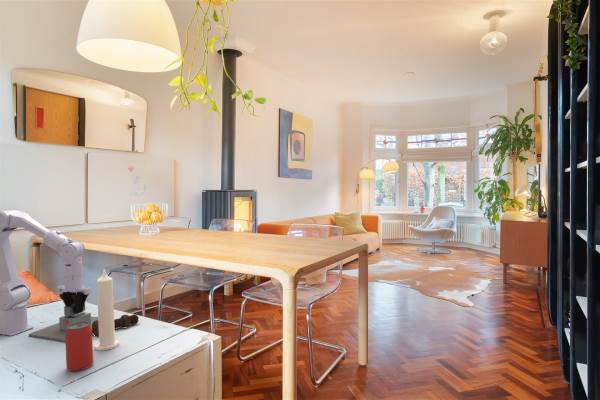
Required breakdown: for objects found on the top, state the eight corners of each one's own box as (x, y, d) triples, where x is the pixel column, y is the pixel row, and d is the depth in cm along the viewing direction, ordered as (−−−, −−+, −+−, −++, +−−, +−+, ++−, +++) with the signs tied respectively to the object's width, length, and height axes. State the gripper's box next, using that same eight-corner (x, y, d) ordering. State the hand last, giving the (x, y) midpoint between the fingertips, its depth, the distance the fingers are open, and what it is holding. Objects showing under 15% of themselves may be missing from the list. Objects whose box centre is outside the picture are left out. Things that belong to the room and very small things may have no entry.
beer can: (97, 360, 108) (96, 320, 108) (85, 371, 102) (83, 329, 101) (75, 361, 108) (73, 321, 108) (61, 372, 101) (59, 330, 101)
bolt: (138, 328, 138) (95, 340, 127) (132, 319, 141) (90, 330, 129) (141, 316, 136) (98, 327, 125) (136, 307, 139) (93, 317, 127)
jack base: (28, 336, 128) (27, 320, 128) (80, 316, 147) (79, 303, 147) (70, 343, 121) (69, 327, 121) (118, 321, 140) (118, 308, 140)
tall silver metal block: (63, 328, 132) (62, 306, 132) (78, 322, 138) (77, 301, 137) (72, 329, 130) (71, 307, 130) (87, 323, 136) (86, 302, 136)
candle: (92, 352, 114) (88, 272, 113) (98, 343, 121) (95, 268, 120) (117, 349, 116) (113, 270, 115) (121, 340, 123) (118, 266, 122)
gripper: (48, 276, 132) (50, 313, 133) (78, 279, 127) (79, 317, 128) (66, 272, 139) (68, 307, 139) (95, 274, 134) (97, 311, 134)
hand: (75, 312), depth 134 cm, fingers open, 4 cm apart
